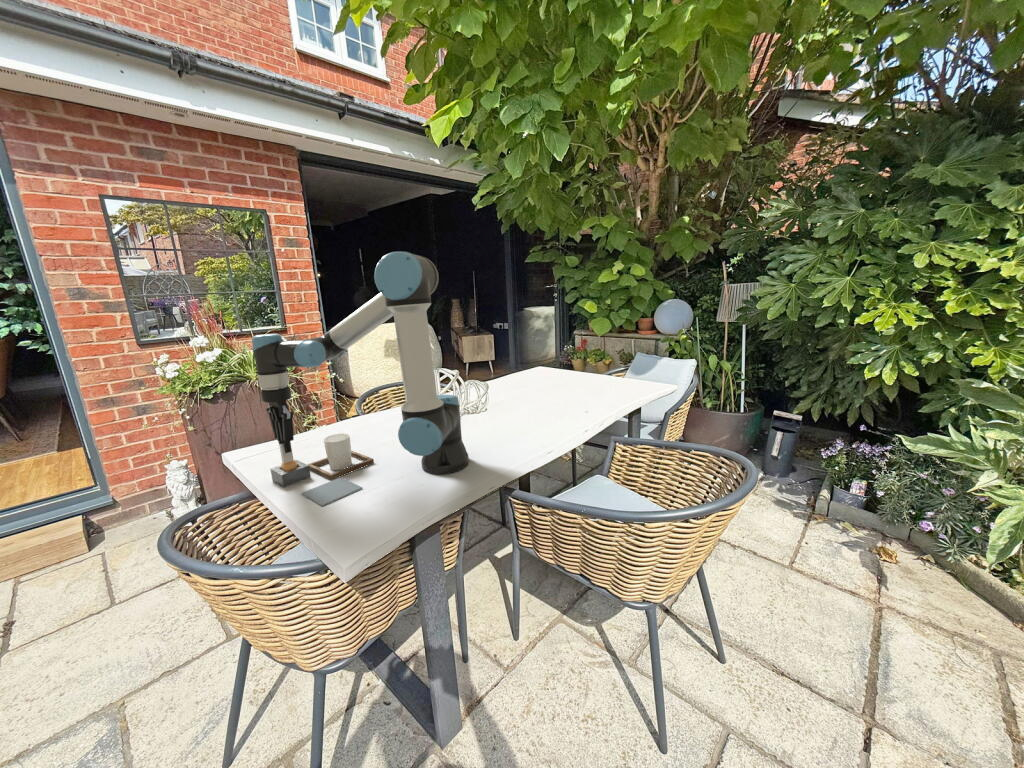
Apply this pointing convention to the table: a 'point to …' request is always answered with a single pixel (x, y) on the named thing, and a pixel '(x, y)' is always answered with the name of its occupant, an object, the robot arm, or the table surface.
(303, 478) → the housing
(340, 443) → the white cup
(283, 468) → the orange rounded block
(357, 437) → the table surface
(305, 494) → the mat
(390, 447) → the table surface
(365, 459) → the collar
